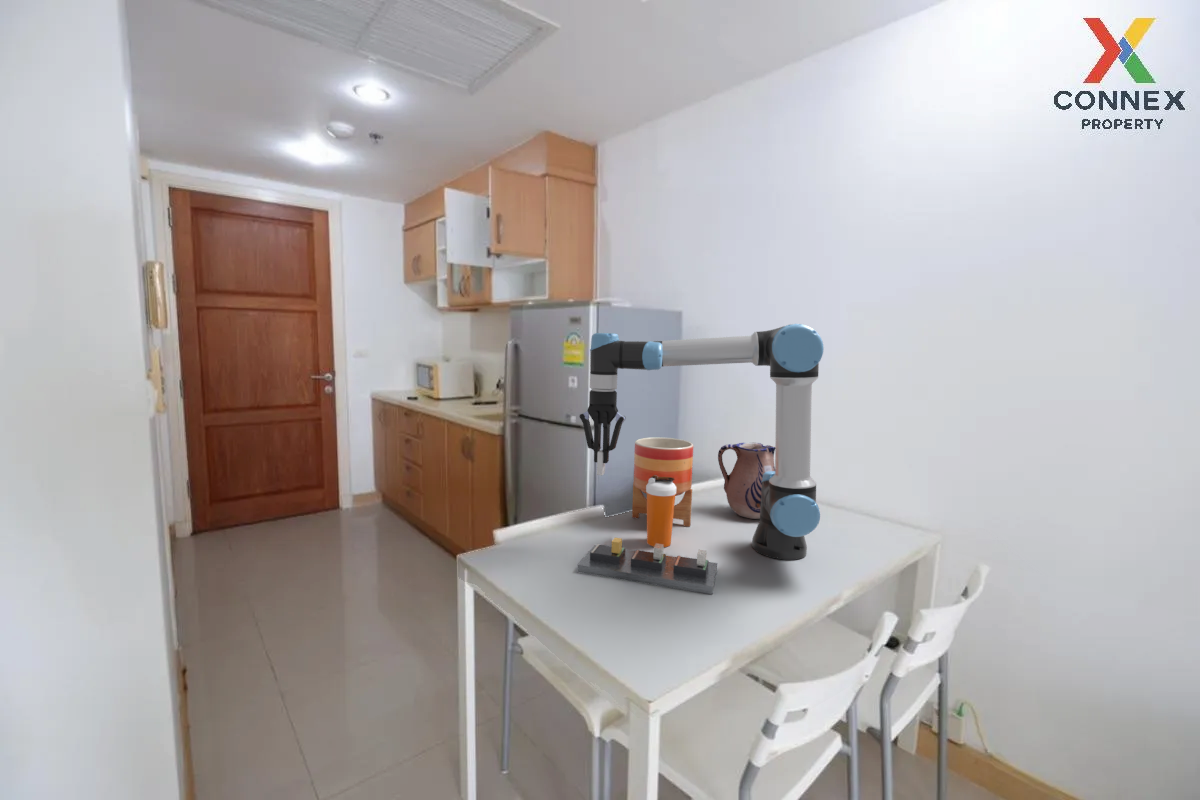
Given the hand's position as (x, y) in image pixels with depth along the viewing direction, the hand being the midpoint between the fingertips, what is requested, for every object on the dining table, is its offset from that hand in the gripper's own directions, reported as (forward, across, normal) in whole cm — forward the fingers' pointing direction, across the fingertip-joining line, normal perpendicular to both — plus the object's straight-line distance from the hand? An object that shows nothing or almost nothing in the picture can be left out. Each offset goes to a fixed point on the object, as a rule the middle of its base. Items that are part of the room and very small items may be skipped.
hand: (600, 474), depth 144 cm
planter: (+23, -12, -31) cm, 40 cm away
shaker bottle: (+23, -15, -12) cm, 30 cm away
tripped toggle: (+18, -7, +8) cm, 21 cm away
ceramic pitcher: (+23, -39, -49) cm, 67 cm away
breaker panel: (+22, -16, +8) cm, 29 cm away
